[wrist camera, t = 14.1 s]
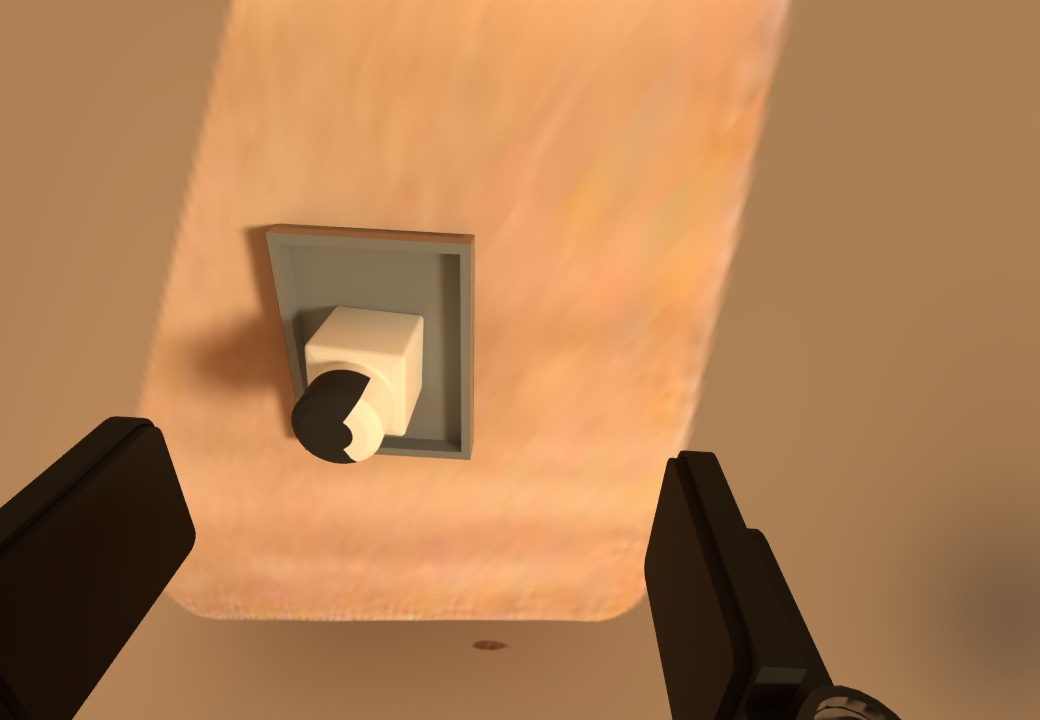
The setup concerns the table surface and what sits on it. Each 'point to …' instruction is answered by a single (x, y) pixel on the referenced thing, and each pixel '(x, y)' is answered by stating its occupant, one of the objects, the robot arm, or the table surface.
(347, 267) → the gray tray
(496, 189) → the table surface
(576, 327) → the table surface
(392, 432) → the medicine bottle
